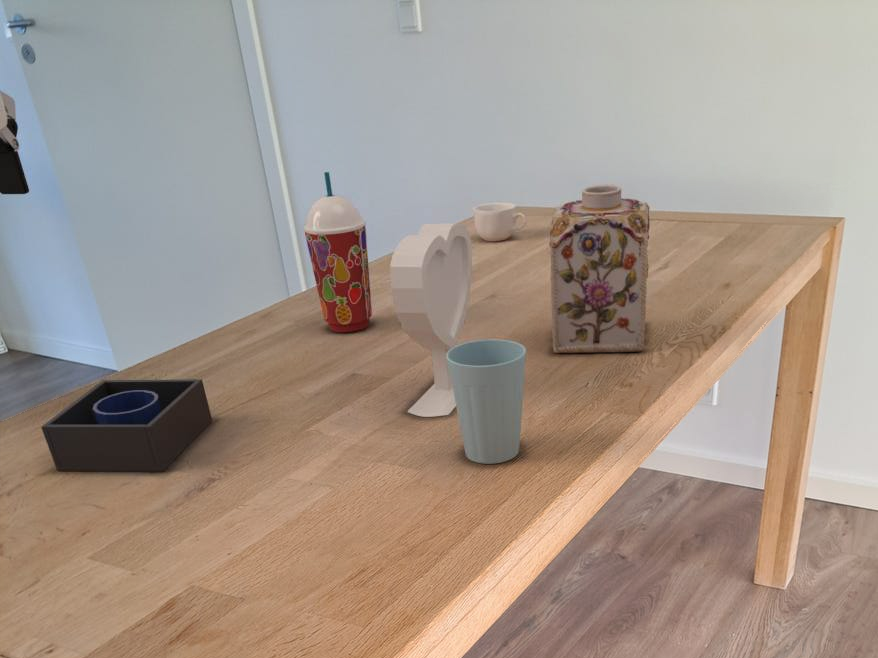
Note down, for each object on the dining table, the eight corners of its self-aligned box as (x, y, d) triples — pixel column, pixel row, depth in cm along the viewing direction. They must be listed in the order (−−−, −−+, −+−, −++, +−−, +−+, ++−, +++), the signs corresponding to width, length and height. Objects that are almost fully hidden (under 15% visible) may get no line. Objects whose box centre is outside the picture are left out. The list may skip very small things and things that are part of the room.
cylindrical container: (94, 453, 99) (81, 414, 96) (123, 428, 104) (111, 390, 102) (152, 454, 98) (140, 414, 95) (179, 428, 103) (168, 389, 101)
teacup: (467, 242, 168) (465, 210, 165) (486, 232, 173) (484, 201, 170) (517, 245, 164) (516, 212, 161) (534, 234, 169) (533, 203, 166)
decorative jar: (646, 323, 124) (651, 176, 113) (645, 353, 114) (651, 195, 104) (557, 325, 125) (554, 181, 115) (549, 354, 116) (546, 200, 106)
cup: (536, 438, 96) (532, 338, 90) (522, 470, 90) (517, 366, 84) (465, 436, 97) (457, 338, 91) (447, 468, 92) (437, 365, 85)
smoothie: (387, 318, 133) (368, 166, 122) (363, 337, 127) (341, 178, 115) (336, 316, 136) (313, 167, 124) (310, 334, 130) (283, 179, 118)
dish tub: (57, 470, 97) (40, 426, 94) (115, 421, 108) (102, 380, 105) (163, 471, 95) (150, 426, 92) (212, 421, 106) (202, 379, 103)
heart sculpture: (442, 421, 101) (425, 249, 90) (400, 418, 103) (379, 248, 92) (485, 371, 113) (475, 214, 102) (447, 369, 114) (433, 214, 104)
